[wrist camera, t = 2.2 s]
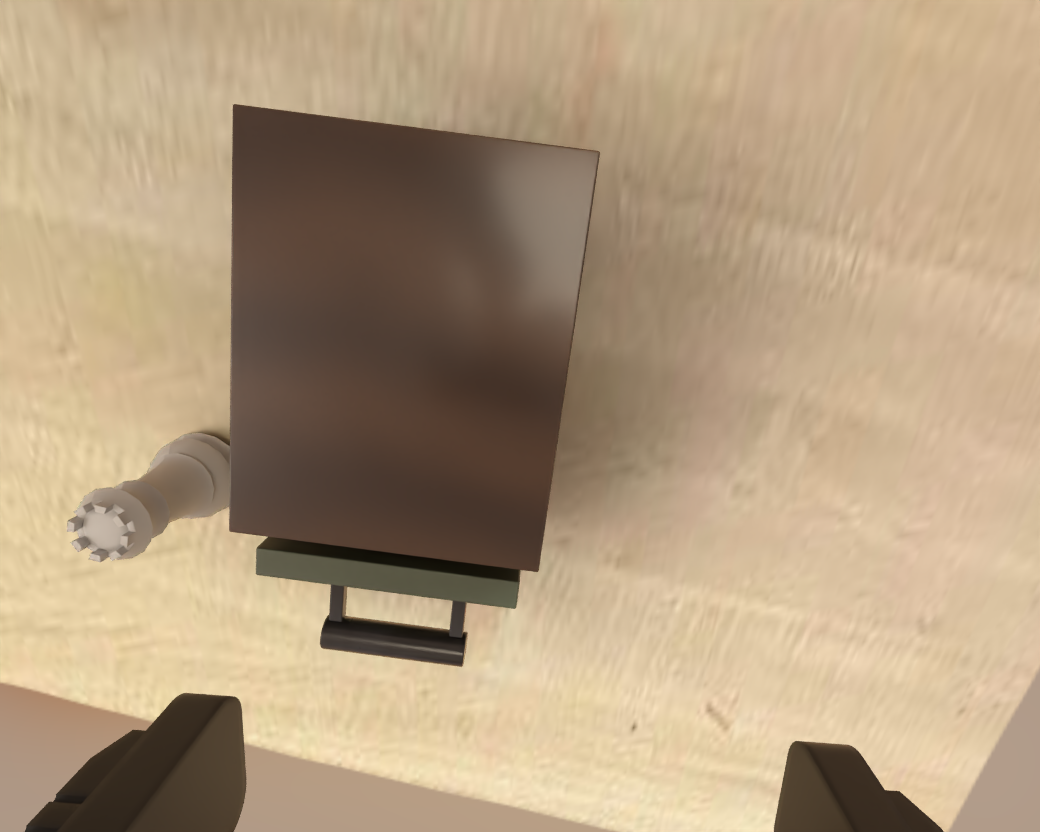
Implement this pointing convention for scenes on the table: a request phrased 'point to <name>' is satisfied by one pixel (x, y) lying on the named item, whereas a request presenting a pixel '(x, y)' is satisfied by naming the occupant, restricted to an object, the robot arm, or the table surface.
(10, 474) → the table surface
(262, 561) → the drawer
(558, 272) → the cabinet
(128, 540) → the rook chess piece
